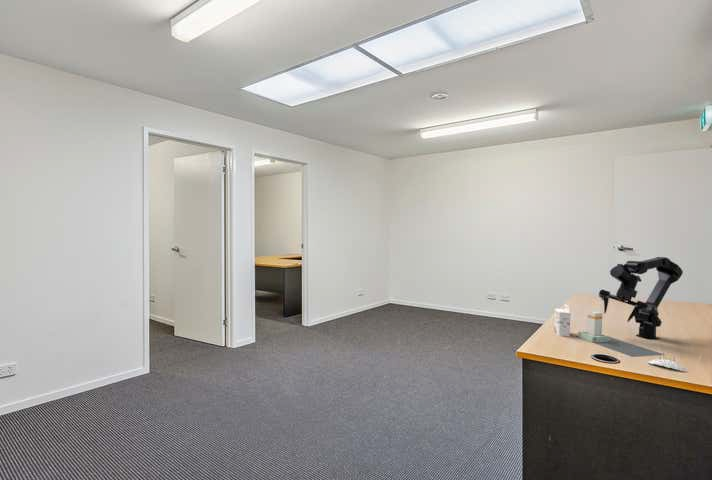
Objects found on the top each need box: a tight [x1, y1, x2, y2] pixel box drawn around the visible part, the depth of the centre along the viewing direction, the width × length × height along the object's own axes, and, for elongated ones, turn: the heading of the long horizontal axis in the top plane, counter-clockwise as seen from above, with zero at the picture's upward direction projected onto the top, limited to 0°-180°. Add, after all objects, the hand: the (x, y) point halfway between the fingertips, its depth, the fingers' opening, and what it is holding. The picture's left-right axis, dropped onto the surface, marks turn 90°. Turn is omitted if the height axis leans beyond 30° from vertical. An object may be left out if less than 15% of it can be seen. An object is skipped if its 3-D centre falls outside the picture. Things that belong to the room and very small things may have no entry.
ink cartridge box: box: [553, 303, 571, 337], centre depth 189 cm, size 9×5×15 cm, turn 168°
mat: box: [574, 334, 666, 358], centre depth 172 cm, size 16×30×1 cm, turn 13°
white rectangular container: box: [586, 310, 603, 336], centre depth 180 cm, size 5×5×12 cm
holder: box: [577, 330, 610, 344], centre depth 180 cm, size 9×9×2 cm
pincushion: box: [646, 352, 688, 373], centre depth 144 cm, size 12×6×6 cm, turn 37°
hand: (616, 317), depth 179 cm, fingers open, 9 cm apart
